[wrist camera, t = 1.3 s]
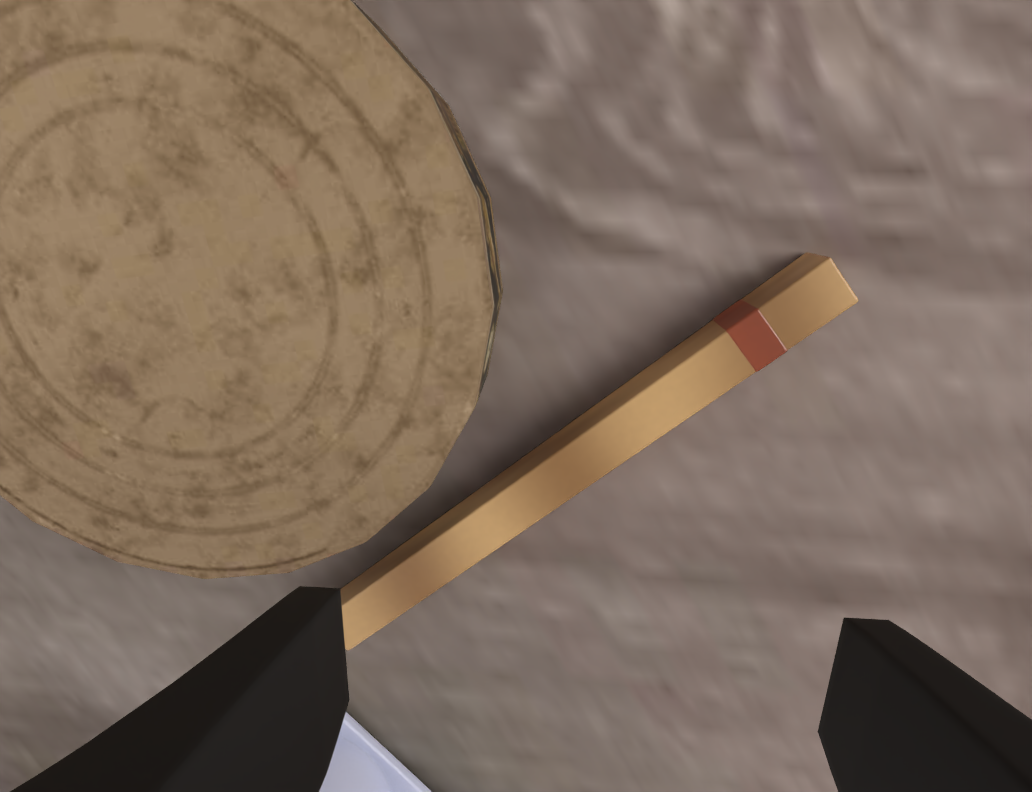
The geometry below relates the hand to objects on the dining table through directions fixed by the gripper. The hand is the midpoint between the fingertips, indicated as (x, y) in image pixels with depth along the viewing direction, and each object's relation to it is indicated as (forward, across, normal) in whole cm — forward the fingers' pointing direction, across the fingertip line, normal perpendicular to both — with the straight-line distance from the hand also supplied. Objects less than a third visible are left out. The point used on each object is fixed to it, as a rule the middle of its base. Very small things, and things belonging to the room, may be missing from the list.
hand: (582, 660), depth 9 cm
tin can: (+10, +10, -4) cm, 15 cm away
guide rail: (+10, 0, +1) cm, 10 cm away
